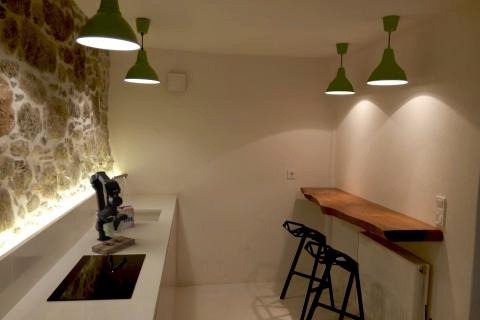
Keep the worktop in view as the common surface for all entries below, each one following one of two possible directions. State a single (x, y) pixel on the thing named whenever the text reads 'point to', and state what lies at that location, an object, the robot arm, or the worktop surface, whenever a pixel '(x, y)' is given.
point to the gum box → (129, 211)
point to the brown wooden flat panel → (113, 245)
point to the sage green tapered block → (111, 228)
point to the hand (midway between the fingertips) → (113, 230)
